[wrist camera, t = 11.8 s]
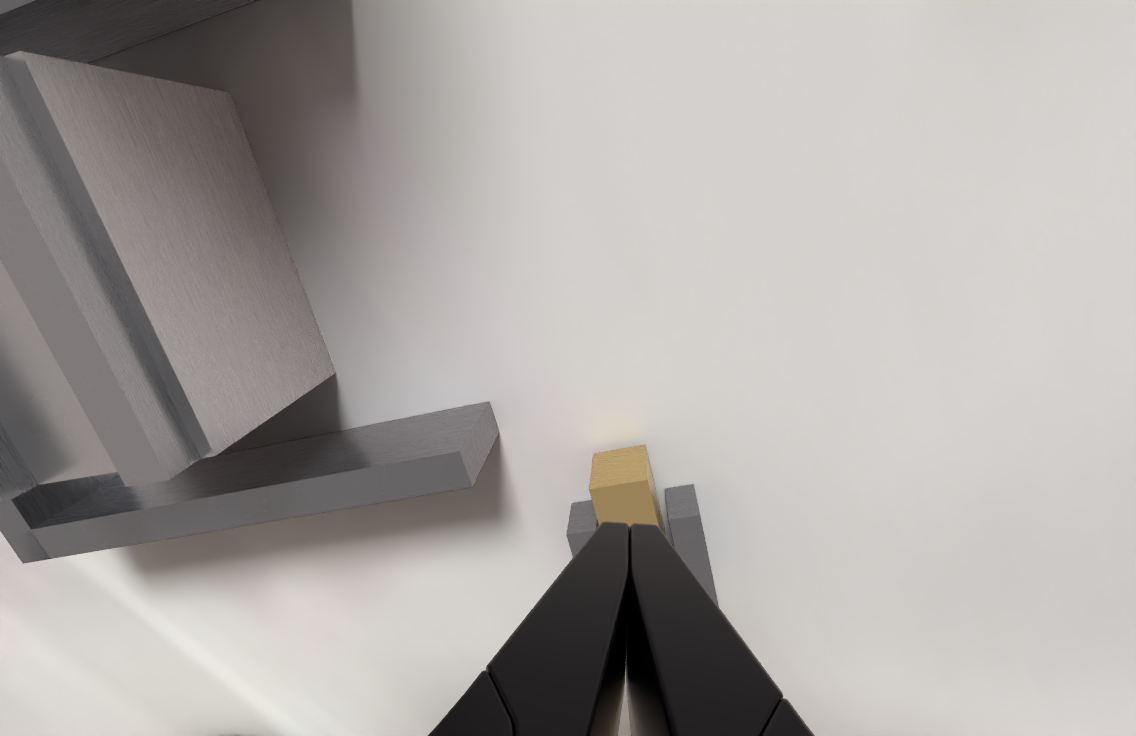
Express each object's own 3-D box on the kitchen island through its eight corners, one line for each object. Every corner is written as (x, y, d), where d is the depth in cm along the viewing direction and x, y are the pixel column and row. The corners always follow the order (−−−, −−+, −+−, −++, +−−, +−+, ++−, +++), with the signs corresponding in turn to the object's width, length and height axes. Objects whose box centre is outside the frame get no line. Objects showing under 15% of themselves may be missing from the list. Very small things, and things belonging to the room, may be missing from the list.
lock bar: (741, 834, 24) (763, 962, 20) (688, 836, 25) (700, 961, 21) (654, 443, 18) (662, 518, 14) (584, 455, 18) (573, 531, 15)
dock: (712, 575, 20) (728, 654, 17) (196, 641, 24) (128, 715, 21) (559, -176, 13) (536, -293, 10) (-133, 96, 17) (-314, 78, 14)
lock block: (342, 384, 19) (193, 495, 12) (174, 414, 20) (-43, 531, 14) (232, 92, 16) (-40, 39, 10) (42, 148, 17) (-315, 134, 11)
